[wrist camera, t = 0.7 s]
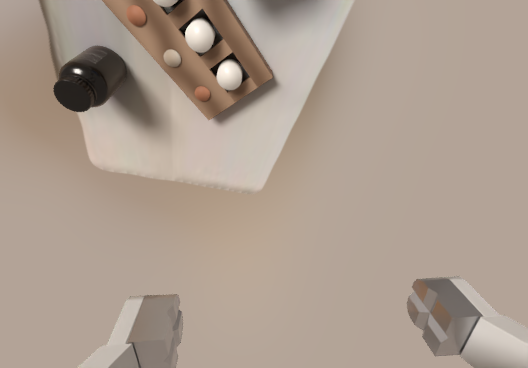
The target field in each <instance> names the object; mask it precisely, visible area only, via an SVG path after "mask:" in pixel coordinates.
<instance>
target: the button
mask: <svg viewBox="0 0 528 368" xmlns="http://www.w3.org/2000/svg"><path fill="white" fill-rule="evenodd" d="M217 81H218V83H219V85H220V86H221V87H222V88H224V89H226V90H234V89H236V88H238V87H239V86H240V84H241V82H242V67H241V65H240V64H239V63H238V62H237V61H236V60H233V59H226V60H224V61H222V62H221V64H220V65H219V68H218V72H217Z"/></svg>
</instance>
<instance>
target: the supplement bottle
mask: <svg viewBox="0 0 528 368" xmlns="http://www.w3.org/2000/svg"><path fill="white" fill-rule="evenodd" d="M125 78H126V68H125V65H124V63H123V61H122V60H121V58H120V57H119V56H118V55H117V54H116V53H115V52H113V51H112V50H110V49H108V48H106V47H103V46H93V47H90V48H88V49H86V50H85V51H83V52H82V53H81V54H79V55H78V56H76V57H75V58H73V59H72V60H71V61H69V62H68V63H66V64H65V65H64V66H63V67H62V68H61V69H60V71H59V80H58V81H57V82H56V83H55V85H54V94H55V96H56V98H57V100H58V101H59V102H60V104H62V105H63V106H64V107H66V108H67V109H70V110H73V111H76V112H84V111H87V110H88V109H90V108H91V107H98V106H101V105H103V104H104V103H106V102H107V100H108V99H109V98H110V97H111V96H112V95H113V94H114V92H115V91H116V90H117V89H118V88H119V87H120V86H121V84H122V83H123V82H124V80H125Z"/></svg>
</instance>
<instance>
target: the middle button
mask: <svg viewBox="0 0 528 368" xmlns="http://www.w3.org/2000/svg"><path fill="white" fill-rule="evenodd" d="M185 39H186V42H187V44H188V45H189V47H190V48H191V49H192V50H194V51H196V52H200V53H203V52H206V51H208V50H209V49H210V48H211V46H212V44H213V42H214V39H215V29H214V27H213V25H212V24H211V23H210V22H209V21H208V20H206V19H204V18H197V19H194V20H193V21H192V22H191V23H190V25H189V26H188V27H187V29H186V32H185Z"/></svg>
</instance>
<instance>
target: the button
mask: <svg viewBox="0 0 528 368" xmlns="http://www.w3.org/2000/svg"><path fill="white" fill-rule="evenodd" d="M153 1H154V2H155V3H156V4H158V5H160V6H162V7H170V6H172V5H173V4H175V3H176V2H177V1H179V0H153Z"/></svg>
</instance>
